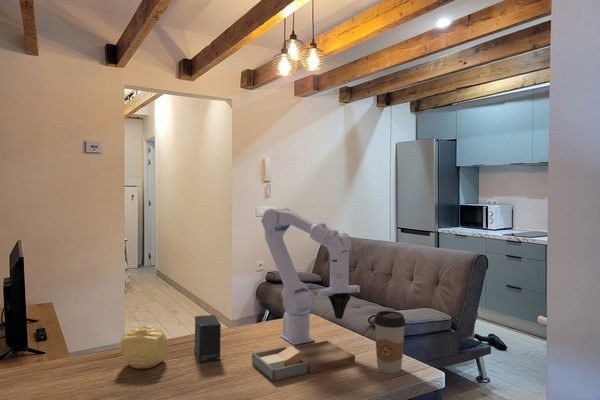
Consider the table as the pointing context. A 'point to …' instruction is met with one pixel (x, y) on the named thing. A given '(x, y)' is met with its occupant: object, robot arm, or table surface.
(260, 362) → the tray
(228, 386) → the table surface
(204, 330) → the small box
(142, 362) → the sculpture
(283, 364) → the cream tile
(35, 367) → the table surface
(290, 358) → the terracotta tile
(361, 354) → the table surface
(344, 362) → the board
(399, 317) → the coffee cup
